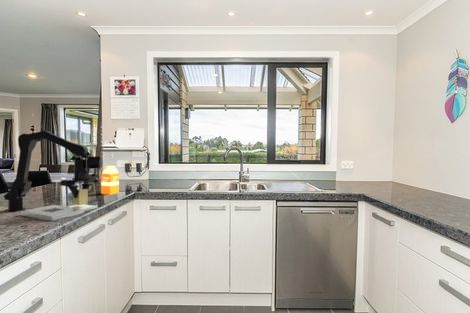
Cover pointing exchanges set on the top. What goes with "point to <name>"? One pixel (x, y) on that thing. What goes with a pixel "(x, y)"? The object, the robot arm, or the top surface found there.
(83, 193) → the tan wooden block
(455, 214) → the top surface
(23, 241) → the top surface
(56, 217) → the hole plate
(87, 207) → the pad
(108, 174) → the orange juice
